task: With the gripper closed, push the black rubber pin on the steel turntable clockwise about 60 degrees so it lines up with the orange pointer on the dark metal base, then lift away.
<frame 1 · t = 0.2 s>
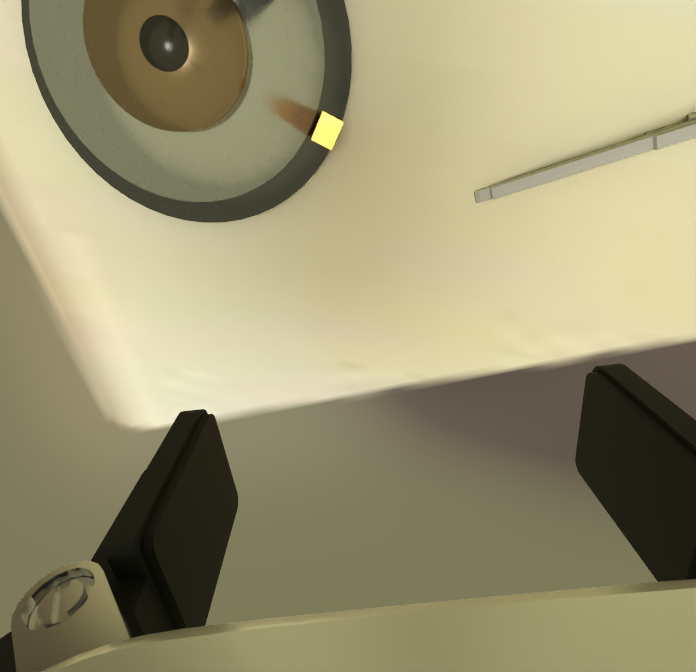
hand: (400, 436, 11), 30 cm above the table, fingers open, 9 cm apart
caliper: (589, 155, 37), on the table
turntable: (173, 49, 29), point 5 cm above the table, hinge at 0.0°
base: (196, 61, 33), on the table
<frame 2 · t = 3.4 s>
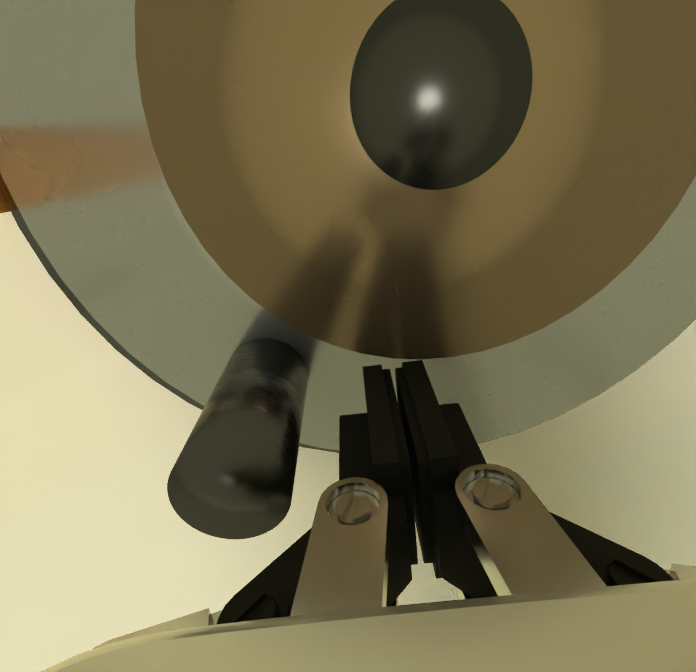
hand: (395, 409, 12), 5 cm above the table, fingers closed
turntable: (421, 104, 9), point 5 cm above the table, hinge at -6.3°, touching gripper
base: (393, 118, 13), on the table
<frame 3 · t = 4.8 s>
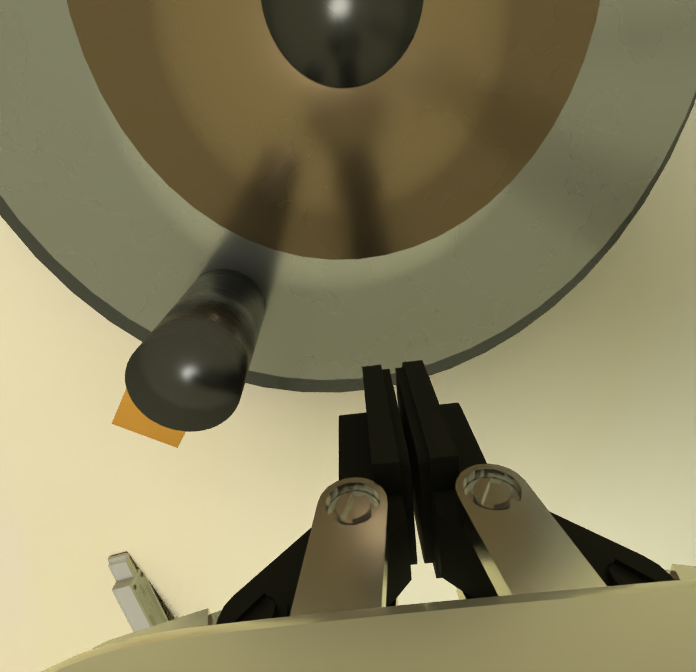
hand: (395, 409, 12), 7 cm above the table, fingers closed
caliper: (200, 653, 27), on the table
turntable: (338, 18, 9), point 5 cm above the table, hinge at -56.6°
base: (331, 57, 14), on the table
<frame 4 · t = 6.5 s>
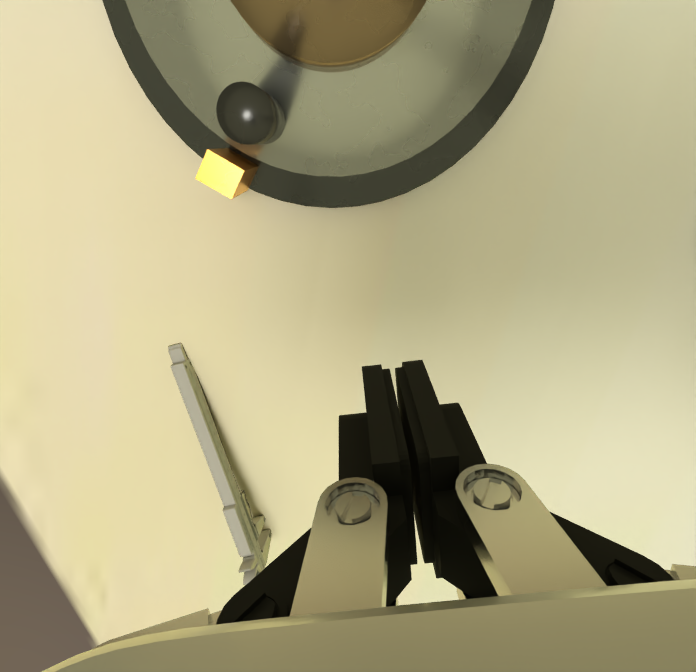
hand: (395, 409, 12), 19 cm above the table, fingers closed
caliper: (227, 446, 37), on the table
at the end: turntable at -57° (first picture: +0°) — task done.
